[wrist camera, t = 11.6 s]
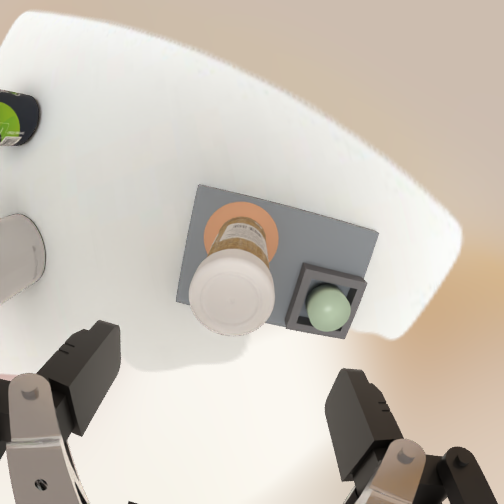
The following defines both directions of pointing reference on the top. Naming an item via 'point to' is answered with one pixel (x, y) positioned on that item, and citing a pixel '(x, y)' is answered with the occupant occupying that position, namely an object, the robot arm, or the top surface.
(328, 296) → the button
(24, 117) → the beverage can
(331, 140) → the top surface
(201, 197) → the slate board
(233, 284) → the sprinkles bottle
